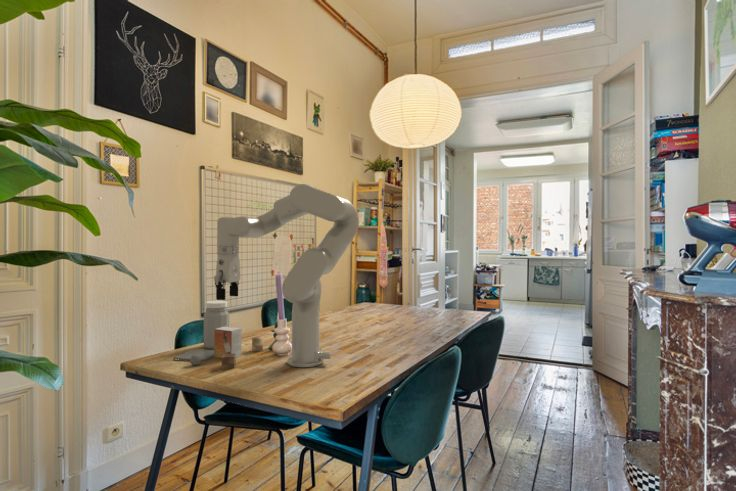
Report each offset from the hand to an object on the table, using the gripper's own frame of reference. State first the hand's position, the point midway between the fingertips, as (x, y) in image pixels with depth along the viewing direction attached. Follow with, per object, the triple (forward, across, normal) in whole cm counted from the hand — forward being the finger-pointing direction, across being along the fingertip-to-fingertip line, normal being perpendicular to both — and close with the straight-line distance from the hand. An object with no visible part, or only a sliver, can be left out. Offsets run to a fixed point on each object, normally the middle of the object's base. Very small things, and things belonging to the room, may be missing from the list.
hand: (227, 297), depth 149 cm
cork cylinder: (+22, +10, -7) cm, 25 cm away
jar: (+22, +13, +11) cm, 28 cm away
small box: (+22, 0, 0) cm, 22 cm away
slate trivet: (+22, -1, +11) cm, 24 cm away
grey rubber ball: (+22, -11, +6) cm, 25 cm away
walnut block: (+22, -11, -6) cm, 25 cm away
